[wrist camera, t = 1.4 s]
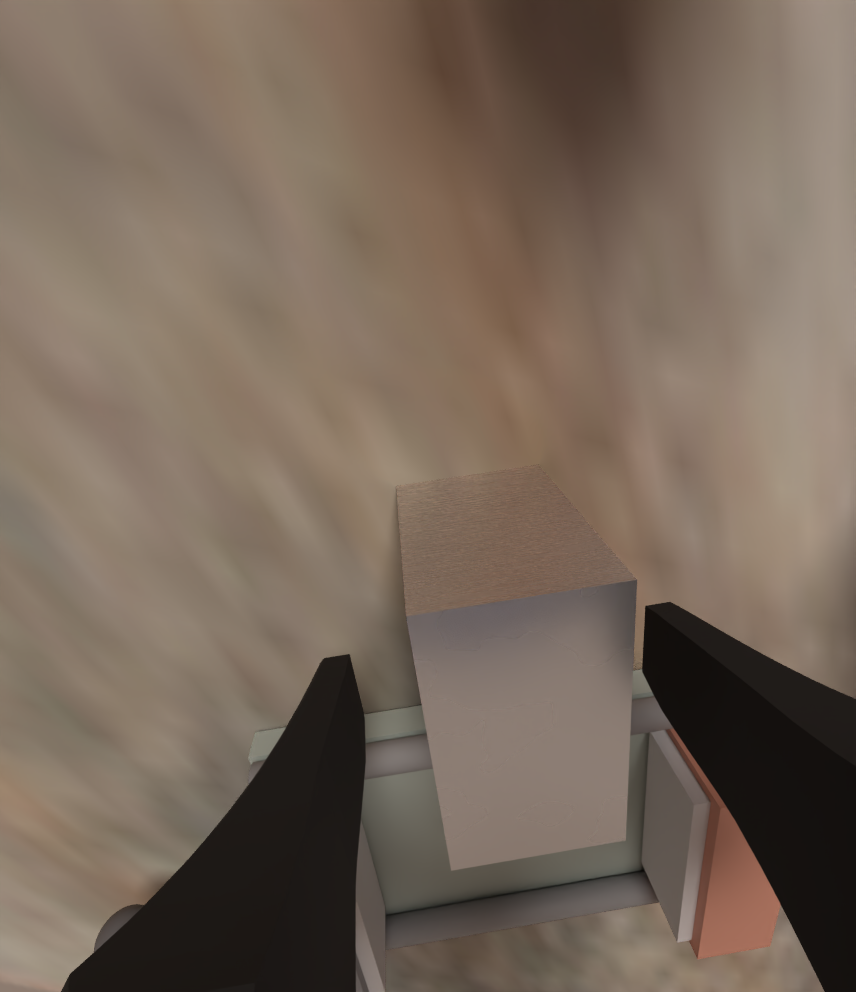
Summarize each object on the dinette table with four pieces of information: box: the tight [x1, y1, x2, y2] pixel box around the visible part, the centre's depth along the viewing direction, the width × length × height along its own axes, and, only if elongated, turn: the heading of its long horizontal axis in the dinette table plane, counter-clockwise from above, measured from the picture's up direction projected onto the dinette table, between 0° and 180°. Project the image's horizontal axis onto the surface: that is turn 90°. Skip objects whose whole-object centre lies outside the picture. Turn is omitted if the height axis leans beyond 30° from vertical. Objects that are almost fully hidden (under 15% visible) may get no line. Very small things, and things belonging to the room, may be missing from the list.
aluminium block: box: [396, 464, 637, 871], centre depth 13 cm, size 4×7×6 cm, turn 8°
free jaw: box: [641, 728, 781, 959], centre depth 17 cm, size 3×8×3 cm, turn 8°
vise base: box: [94, 669, 673, 992], centre depth 17 cm, size 22×10×4 cm, turn 98°
